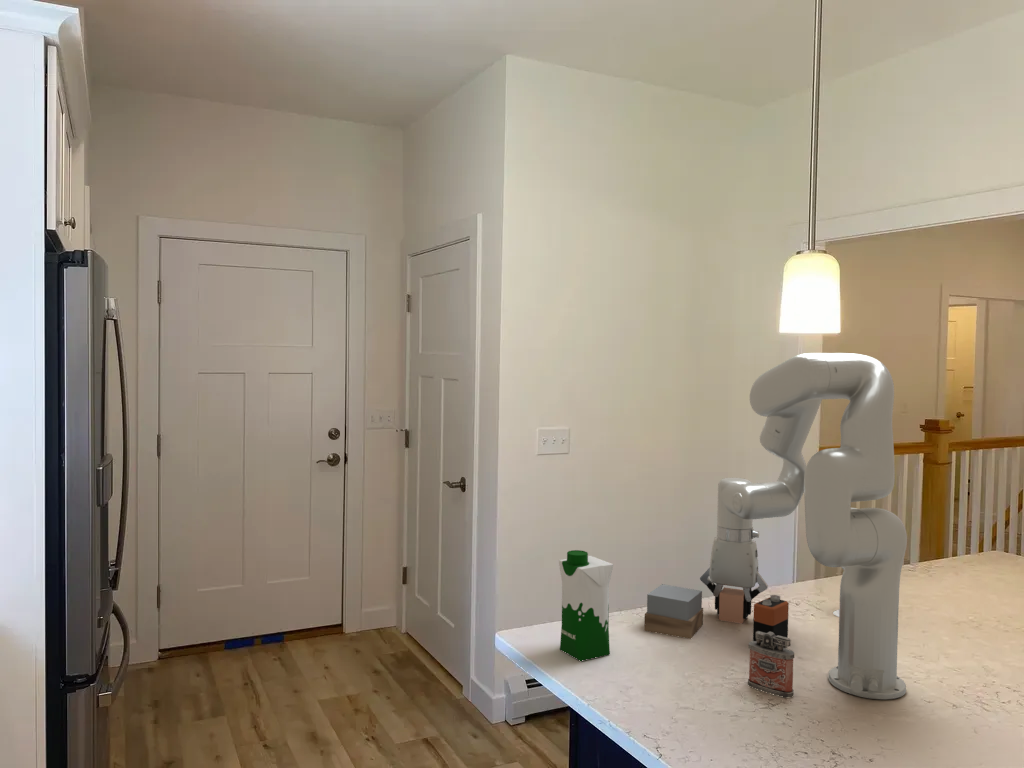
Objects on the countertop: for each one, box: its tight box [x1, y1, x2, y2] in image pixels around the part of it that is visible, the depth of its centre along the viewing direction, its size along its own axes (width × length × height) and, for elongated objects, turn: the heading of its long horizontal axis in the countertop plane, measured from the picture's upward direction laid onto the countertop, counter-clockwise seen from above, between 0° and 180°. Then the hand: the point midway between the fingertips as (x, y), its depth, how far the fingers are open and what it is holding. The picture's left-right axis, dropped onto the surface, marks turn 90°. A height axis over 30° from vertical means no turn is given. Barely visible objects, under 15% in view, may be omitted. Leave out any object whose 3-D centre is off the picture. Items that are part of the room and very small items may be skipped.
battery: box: [752, 594, 790, 648], centre depth 157 cm, size 4×7×10 cm, turn 134°
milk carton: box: [558, 549, 614, 662], centre depth 153 cm, size 9×9×20 cm
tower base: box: [643, 607, 704, 640], centre depth 168 cm, size 10×10×4 cm
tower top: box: [646, 583, 703, 621], centre depth 168 cm, size 9×9×4 cm
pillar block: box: [718, 586, 746, 624], centre depth 174 cm, size 5×5×6 cm
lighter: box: [747, 631, 795, 698], centre depth 137 cm, size 8×3×10 cm, turn 47°
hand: (732, 614), depth 174 cm, fingers closed on pillar block, 4 cm apart
